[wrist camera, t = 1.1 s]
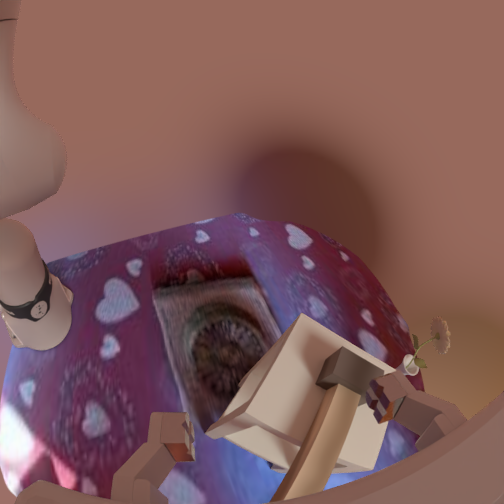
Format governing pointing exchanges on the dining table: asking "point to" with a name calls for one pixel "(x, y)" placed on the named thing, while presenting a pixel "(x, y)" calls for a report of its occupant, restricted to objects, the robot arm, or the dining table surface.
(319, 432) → the mallet
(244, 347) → the dining table surface
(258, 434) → the shelf stand
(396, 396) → the robot arm
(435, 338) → the flower in vase
